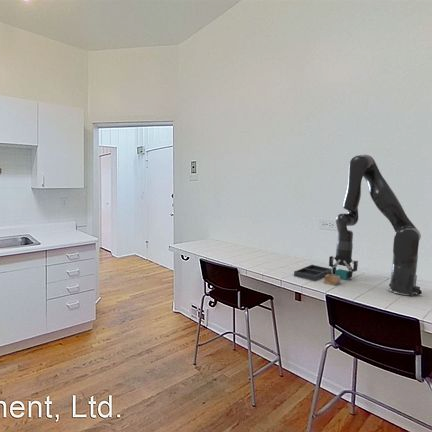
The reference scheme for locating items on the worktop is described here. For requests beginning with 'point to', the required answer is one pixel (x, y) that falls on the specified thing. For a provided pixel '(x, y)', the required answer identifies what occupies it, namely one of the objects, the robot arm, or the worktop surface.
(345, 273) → the teal block
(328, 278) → the tan rounded lump
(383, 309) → the worktop surface
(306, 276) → the dark grey compartment tray
